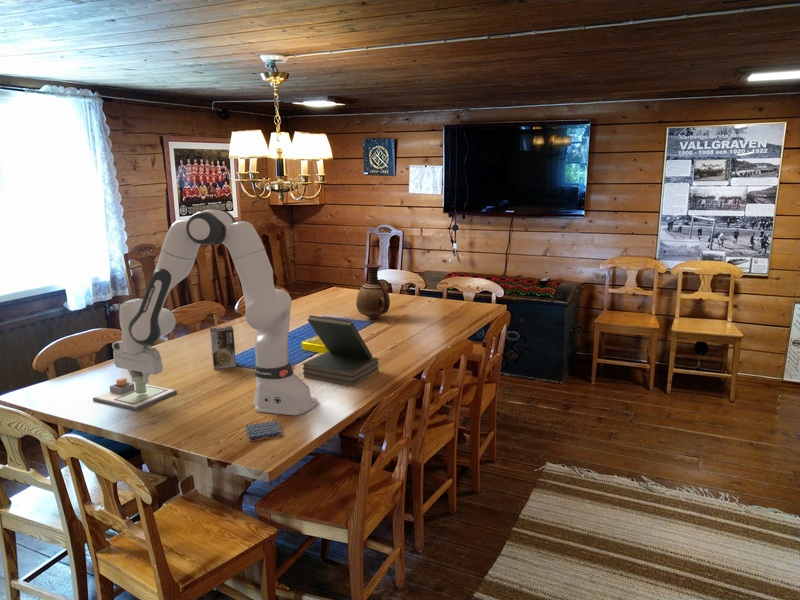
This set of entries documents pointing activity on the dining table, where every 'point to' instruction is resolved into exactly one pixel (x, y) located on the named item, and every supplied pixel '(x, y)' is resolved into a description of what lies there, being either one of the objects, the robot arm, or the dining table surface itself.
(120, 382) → the button
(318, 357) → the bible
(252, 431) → the woven mat
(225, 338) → the coffee box
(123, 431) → the dining table surface
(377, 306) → the vase
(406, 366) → the dining table surface
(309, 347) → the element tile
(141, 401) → the cream board with holder
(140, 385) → the marker
